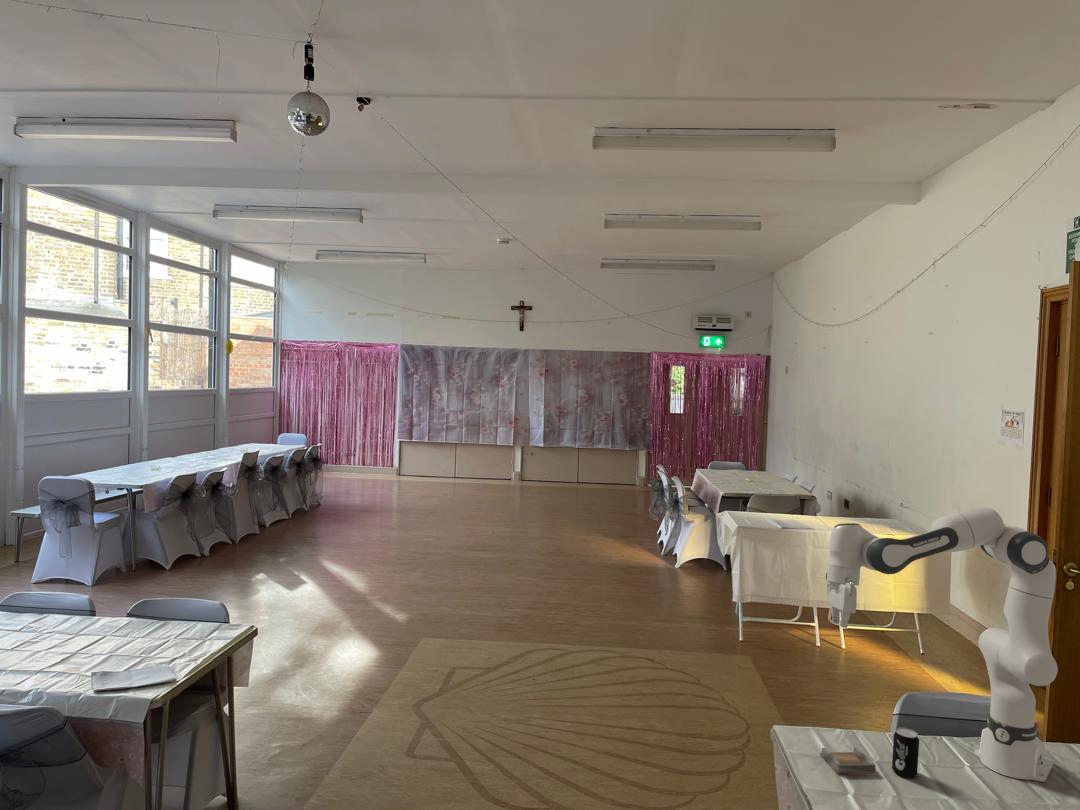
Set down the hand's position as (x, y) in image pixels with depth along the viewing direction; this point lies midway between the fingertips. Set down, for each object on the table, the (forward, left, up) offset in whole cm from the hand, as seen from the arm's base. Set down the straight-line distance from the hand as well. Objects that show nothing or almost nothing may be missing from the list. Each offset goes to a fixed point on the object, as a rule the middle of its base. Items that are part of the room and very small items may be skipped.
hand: (839, 625), depth 213 cm
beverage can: (-13, +15, -41) cm, 45 cm away
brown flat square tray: (-2, +4, -41) cm, 41 cm away
